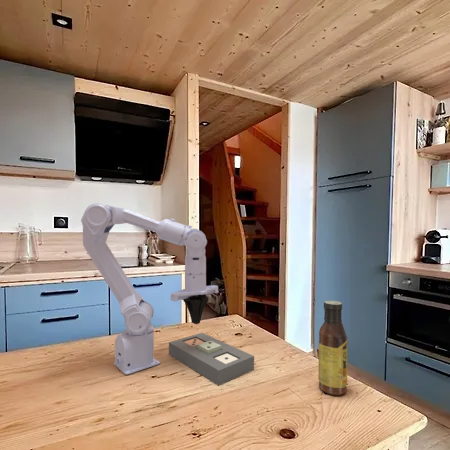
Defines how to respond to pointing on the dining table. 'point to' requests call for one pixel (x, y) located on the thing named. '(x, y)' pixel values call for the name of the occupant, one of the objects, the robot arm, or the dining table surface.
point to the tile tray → (211, 359)
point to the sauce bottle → (332, 351)
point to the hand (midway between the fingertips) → (195, 322)
